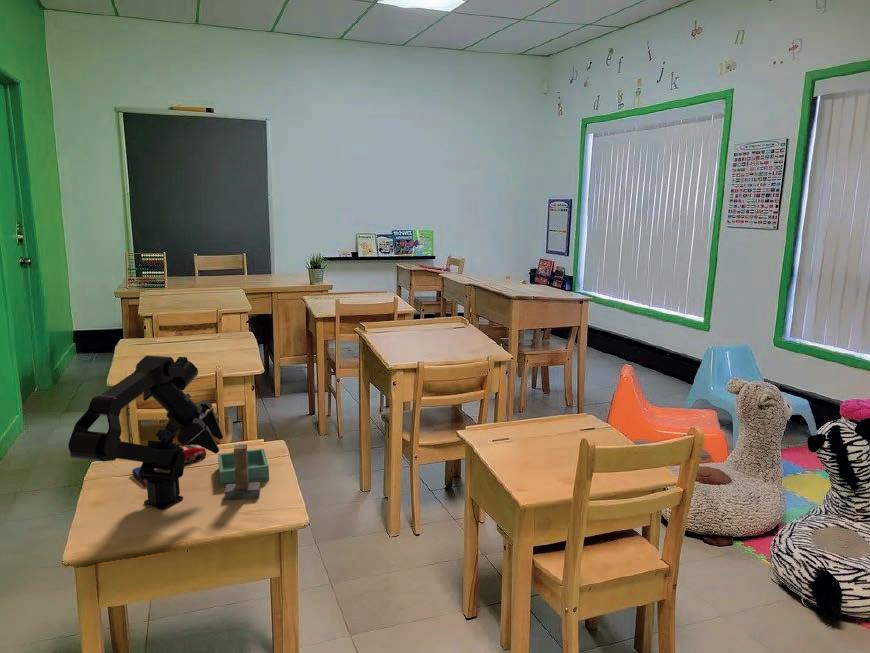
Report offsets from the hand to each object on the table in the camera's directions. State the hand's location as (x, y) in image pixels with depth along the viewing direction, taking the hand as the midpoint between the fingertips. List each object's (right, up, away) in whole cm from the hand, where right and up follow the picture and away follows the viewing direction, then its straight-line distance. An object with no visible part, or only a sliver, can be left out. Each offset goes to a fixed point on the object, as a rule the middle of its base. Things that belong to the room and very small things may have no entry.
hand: (219, 445), depth 159 cm
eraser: (-22, -11, +8) cm, 26 cm away
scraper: (+6, -13, 0) cm, 14 cm away
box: (+2, -10, +12) cm, 16 cm away
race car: (-17, -9, +19) cm, 27 cm away
